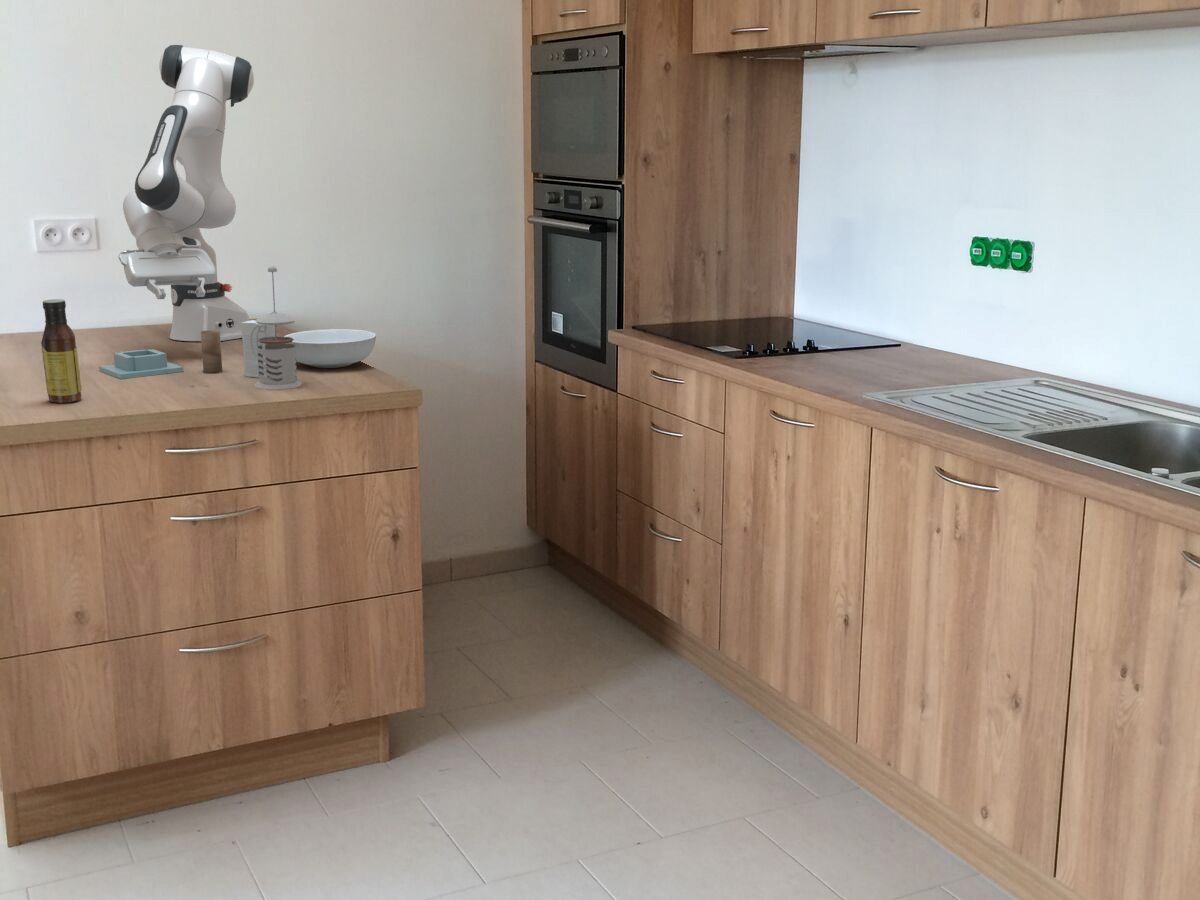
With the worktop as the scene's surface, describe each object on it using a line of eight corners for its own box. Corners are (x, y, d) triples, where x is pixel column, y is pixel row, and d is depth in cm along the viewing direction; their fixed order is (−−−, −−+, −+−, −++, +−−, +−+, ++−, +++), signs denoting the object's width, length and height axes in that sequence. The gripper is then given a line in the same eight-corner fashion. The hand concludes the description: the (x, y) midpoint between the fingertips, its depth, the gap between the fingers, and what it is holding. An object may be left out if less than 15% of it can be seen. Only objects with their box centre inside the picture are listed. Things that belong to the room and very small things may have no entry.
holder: (160, 363, 280) (159, 346, 279) (183, 371, 272) (182, 353, 271) (99, 370, 271) (97, 353, 270) (120, 379, 262) (119, 360, 261)
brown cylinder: (217, 369, 275) (214, 329, 273) (225, 372, 272) (222, 331, 270) (200, 371, 272) (197, 331, 270) (208, 374, 269) (205, 333, 267)
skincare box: (278, 375, 269) (276, 321, 266) (267, 378, 265) (264, 323, 262) (255, 373, 271) (252, 319, 268) (243, 376, 267) (240, 322, 264)
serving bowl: (333, 353, 297) (332, 325, 295) (395, 363, 285) (394, 334, 283) (264, 365, 280) (263, 335, 279) (328, 376, 269) (326, 345, 267)
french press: (277, 391, 253) (271, 269, 246) (238, 384, 259) (231, 265, 252) (311, 383, 261) (306, 265, 255) (273, 377, 267) (267, 262, 261)
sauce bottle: (63, 396, 244) (53, 297, 240) (89, 398, 243) (80, 298, 238) (39, 403, 238) (29, 301, 233) (66, 405, 237) (56, 302, 232)
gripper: (119, 241, 272) (141, 289, 268) (205, 239, 286) (227, 285, 282) (112, 260, 277) (133, 308, 272) (197, 257, 291) (219, 302, 286)
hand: (182, 296), depth 277 cm, fingers open, 8 cm apart
